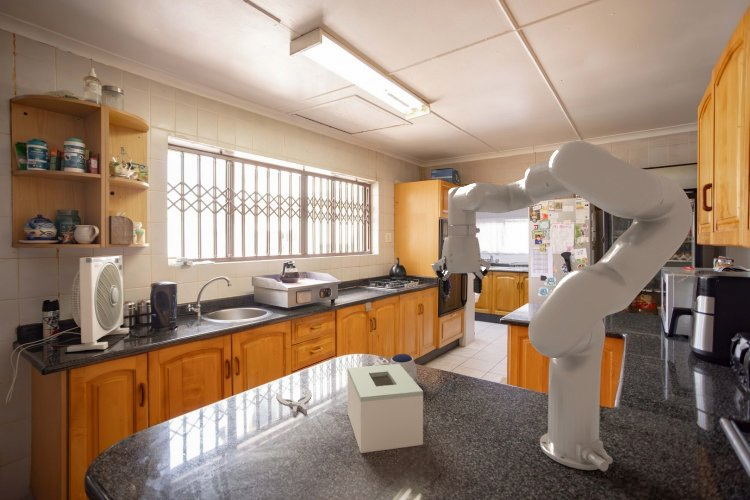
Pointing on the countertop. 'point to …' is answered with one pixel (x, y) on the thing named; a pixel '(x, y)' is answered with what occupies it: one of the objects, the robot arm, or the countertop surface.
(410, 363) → the toy
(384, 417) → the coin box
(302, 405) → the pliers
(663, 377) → the countertop surface
